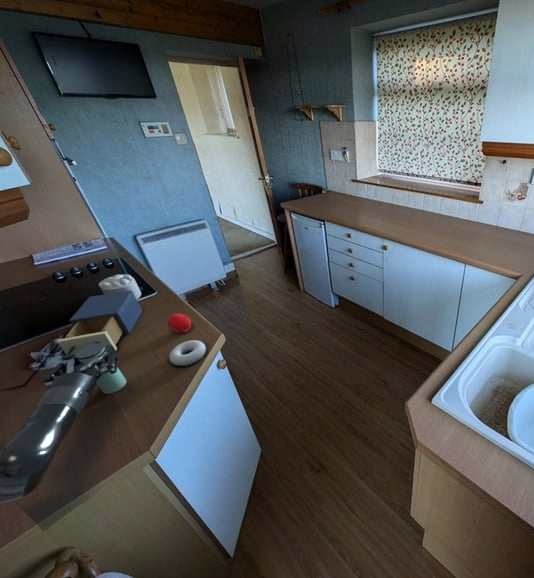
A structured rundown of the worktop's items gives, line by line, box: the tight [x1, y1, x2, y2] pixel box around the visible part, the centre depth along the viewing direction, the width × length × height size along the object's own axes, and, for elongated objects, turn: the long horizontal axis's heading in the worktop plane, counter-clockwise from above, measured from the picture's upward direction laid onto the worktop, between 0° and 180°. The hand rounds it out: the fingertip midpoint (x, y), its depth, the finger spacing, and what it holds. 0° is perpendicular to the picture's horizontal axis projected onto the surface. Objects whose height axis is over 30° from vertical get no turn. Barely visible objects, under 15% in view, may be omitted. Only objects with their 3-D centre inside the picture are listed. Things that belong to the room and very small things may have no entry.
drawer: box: [56, 315, 124, 362], centre depth 94 cm, size 19×12×7 cm, turn 21°
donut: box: [169, 339, 207, 367], centre depth 93 cm, size 10×4×10 cm
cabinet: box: [69, 291, 143, 336], centre depth 104 cm, size 15×13×9 cm
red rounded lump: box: [167, 313, 192, 334], centre depth 104 cm, size 8×6×6 cm
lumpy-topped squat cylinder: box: [98, 273, 142, 300], centre depth 120 cm, size 10×13×9 cm
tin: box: [75, 343, 127, 395], centre depth 80 cm, size 6×6×14 cm
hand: (97, 349), depth 79 cm, fingers closed on tin, 5 cm apart
